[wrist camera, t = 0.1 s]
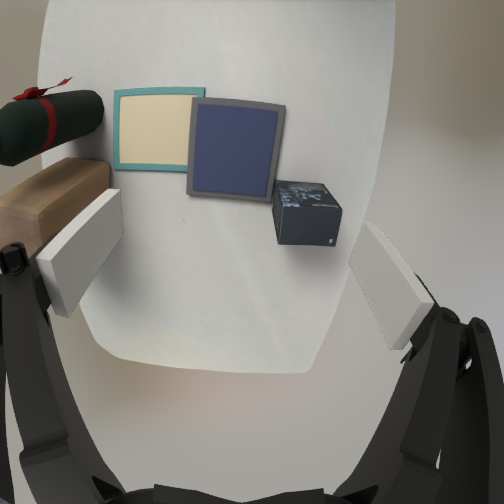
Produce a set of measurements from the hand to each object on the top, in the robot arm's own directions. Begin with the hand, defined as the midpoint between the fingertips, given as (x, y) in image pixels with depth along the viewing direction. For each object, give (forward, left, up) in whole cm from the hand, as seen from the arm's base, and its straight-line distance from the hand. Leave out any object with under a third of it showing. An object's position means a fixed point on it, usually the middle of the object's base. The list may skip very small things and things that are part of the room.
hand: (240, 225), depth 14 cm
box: (+8, +9, -28) cm, 31 cm away
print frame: (-1, -13, -28) cm, 31 cm away
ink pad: (+2, -1, -28) cm, 28 cm away
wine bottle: (-5, -26, -28) cm, 39 cm away
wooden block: (+9, -26, -28) cm, 40 cm away
